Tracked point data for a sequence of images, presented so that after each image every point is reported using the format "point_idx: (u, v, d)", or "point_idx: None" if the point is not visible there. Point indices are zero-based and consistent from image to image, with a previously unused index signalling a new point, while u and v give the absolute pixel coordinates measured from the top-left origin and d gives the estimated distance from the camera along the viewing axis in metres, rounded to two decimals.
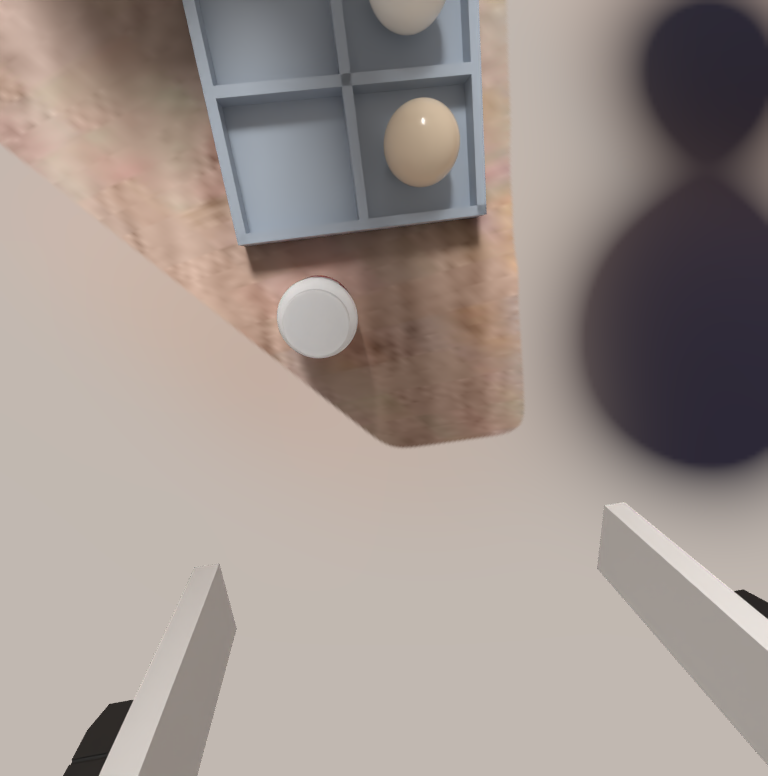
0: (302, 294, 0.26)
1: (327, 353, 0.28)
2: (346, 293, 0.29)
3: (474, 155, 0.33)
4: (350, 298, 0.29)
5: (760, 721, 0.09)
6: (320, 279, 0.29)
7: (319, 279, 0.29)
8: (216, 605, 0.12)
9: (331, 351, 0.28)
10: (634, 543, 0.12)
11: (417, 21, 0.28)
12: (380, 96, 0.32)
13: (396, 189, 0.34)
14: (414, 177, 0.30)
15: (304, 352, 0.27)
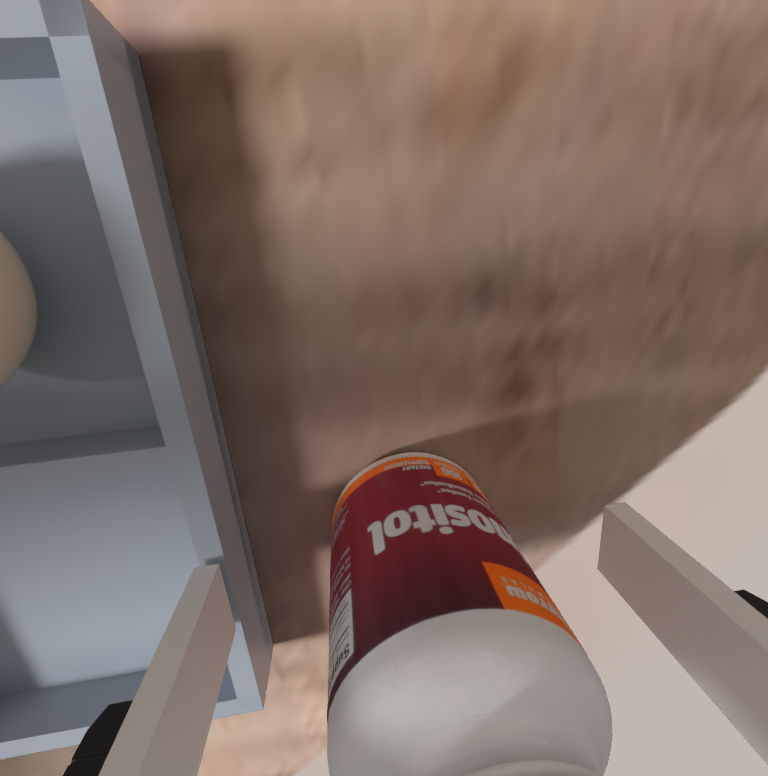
0: None
1: None
2: (389, 689, 0.07)
3: None
4: (409, 673, 0.07)
5: (760, 721, 0.09)
6: (332, 760, 0.08)
7: (332, 763, 0.08)
8: (216, 605, 0.12)
9: None
10: (635, 544, 0.12)
11: None
12: None
13: (87, 341, 0.12)
14: None
15: None
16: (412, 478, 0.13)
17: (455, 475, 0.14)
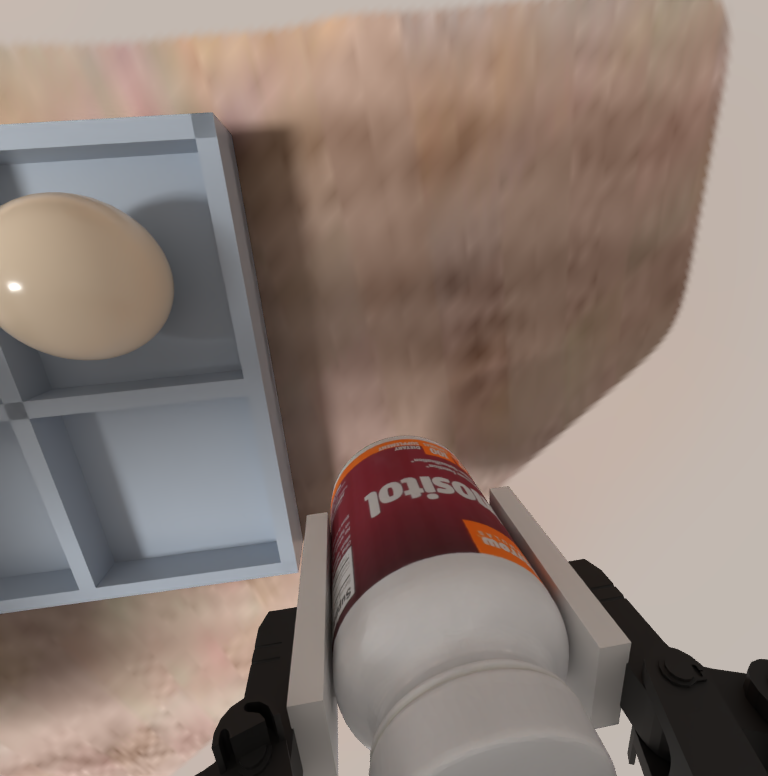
0: None
1: None
2: (384, 614, 0.09)
3: (91, 145, 0.15)
4: (401, 601, 0.09)
5: (569, 666, 0.10)
6: (338, 677, 0.09)
7: (338, 680, 0.09)
8: (329, 545, 0.14)
9: None
10: (505, 521, 0.14)
11: None
12: None
13: (193, 313, 0.18)
14: (142, 307, 0.14)
15: None
16: (404, 456, 0.14)
17: (442, 454, 0.15)
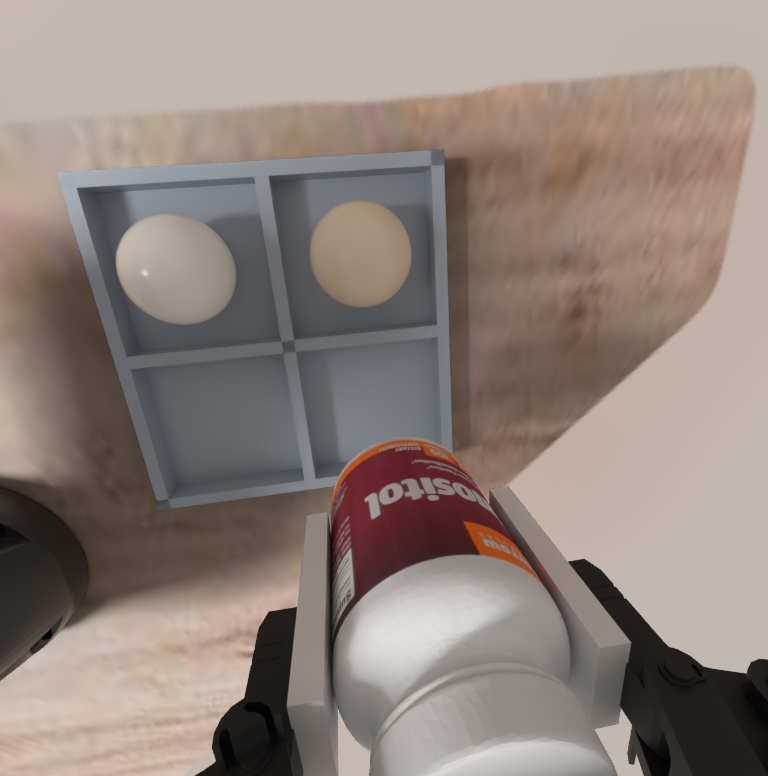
0: None
1: None
2: (384, 617, 0.09)
3: (366, 169, 0.23)
4: (401, 603, 0.09)
5: None
6: (338, 680, 0.09)
7: (338, 683, 0.09)
8: (330, 545, 0.14)
9: None
10: (505, 521, 0.14)
11: (227, 263, 0.21)
12: (295, 299, 0.26)
13: None
14: (407, 271, 0.22)
15: None
16: (404, 457, 0.14)
17: (442, 455, 0.15)
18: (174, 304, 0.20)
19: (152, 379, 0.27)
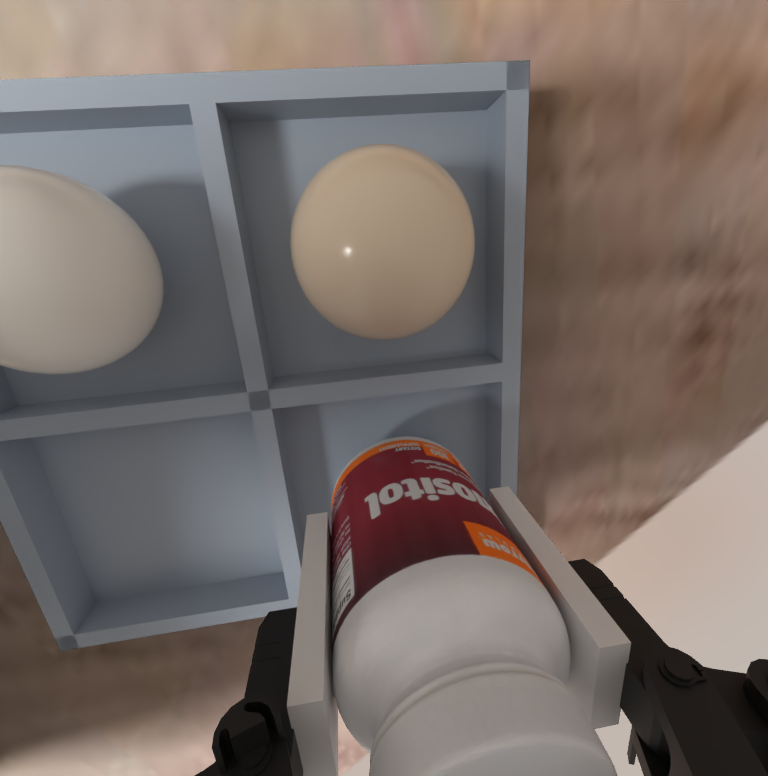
0: None
1: None
2: (384, 616, 0.09)
3: (392, 96, 0.13)
4: (401, 603, 0.09)
5: None
6: (338, 680, 0.09)
7: (338, 683, 0.09)
8: (330, 545, 0.14)
9: None
10: (505, 521, 0.14)
11: (134, 262, 0.11)
12: (272, 321, 0.16)
13: None
14: (467, 277, 0.12)
15: None
16: (404, 457, 0.14)
17: (442, 455, 0.15)
18: (18, 344, 0.10)
19: (42, 449, 0.17)
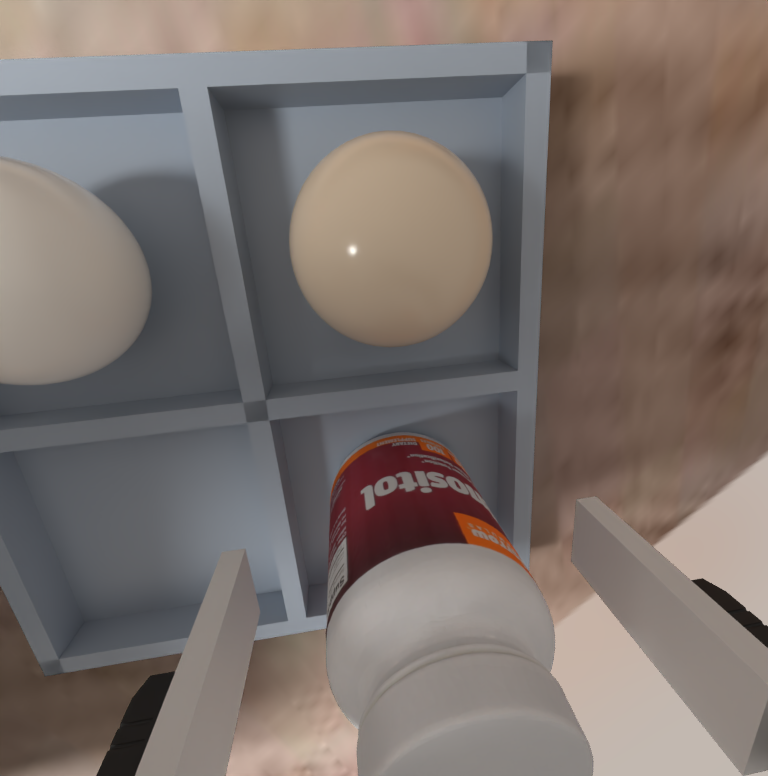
0: None
1: (587, 763, 0.08)
2: (374, 600, 0.09)
3: (401, 80, 0.12)
4: (390, 588, 0.09)
5: (710, 701, 0.09)
6: (330, 661, 0.10)
7: (330, 663, 0.10)
8: (244, 587, 0.12)
9: (581, 756, 0.07)
10: (602, 535, 0.12)
11: (117, 262, 0.10)
12: (270, 325, 0.15)
13: None
14: (484, 279, 0.11)
15: None
16: (400, 451, 0.15)
17: (438, 450, 0.16)
18: None
19: (25, 462, 0.15)
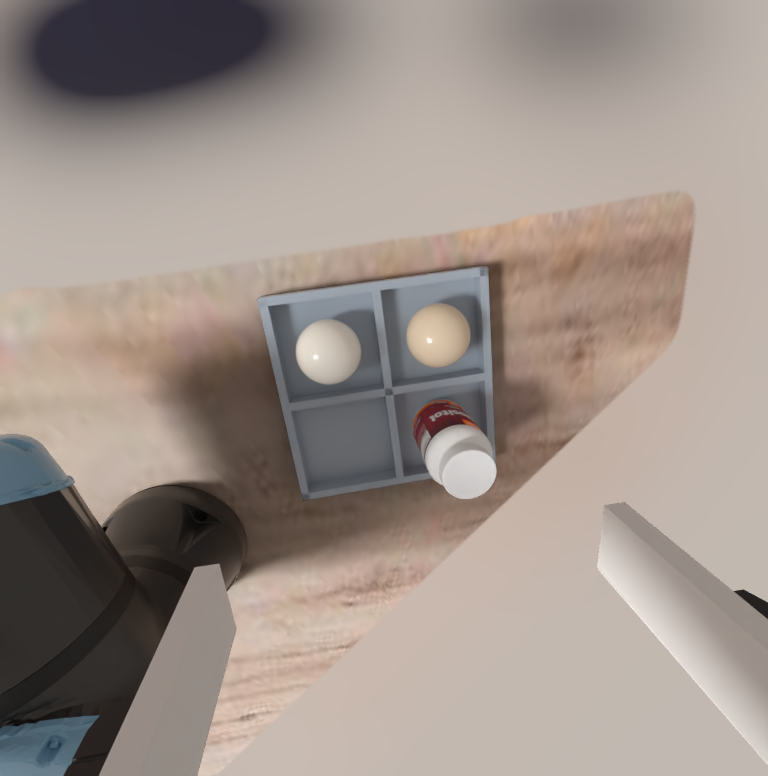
0: (444, 485, 0.32)
1: (494, 466, 0.32)
2: (440, 438, 0.34)
3: (439, 281, 0.36)
4: (444, 434, 0.34)
5: (760, 721, 0.09)
6: (428, 457, 0.34)
7: (428, 458, 0.34)
8: (216, 605, 0.12)
9: (492, 464, 0.32)
10: (634, 543, 0.12)
11: (359, 347, 0.35)
12: (390, 359, 0.40)
13: None
14: (468, 345, 0.36)
15: (491, 483, 0.33)
16: (441, 405, 0.39)
17: (455, 404, 0.40)
18: (334, 376, 0.34)
19: (297, 415, 0.41)
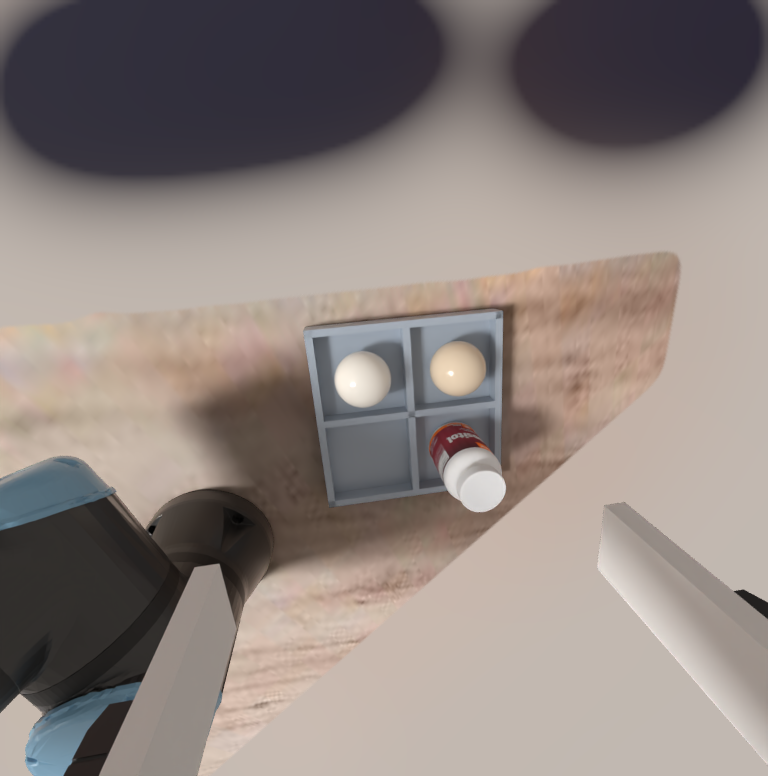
0: (461, 500, 0.38)
1: (504, 485, 0.38)
2: (458, 458, 0.39)
3: None
4: (462, 455, 0.39)
5: (760, 721, 0.09)
6: (446, 474, 0.40)
7: (446, 475, 0.40)
8: (216, 605, 0.12)
9: (503, 483, 0.38)
10: (634, 543, 0.12)
11: (390, 376, 0.41)
12: (413, 385, 0.45)
13: None
14: None
15: (501, 499, 0.38)
16: (456, 427, 0.45)
17: (468, 427, 0.46)
18: (368, 401, 0.39)
19: (328, 431, 0.46)
